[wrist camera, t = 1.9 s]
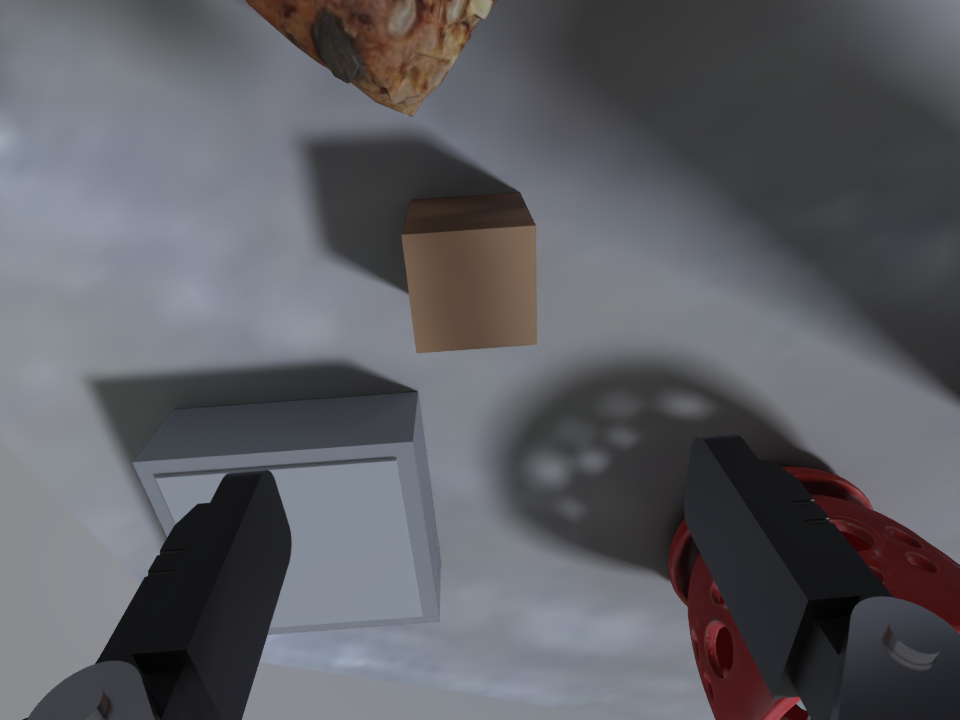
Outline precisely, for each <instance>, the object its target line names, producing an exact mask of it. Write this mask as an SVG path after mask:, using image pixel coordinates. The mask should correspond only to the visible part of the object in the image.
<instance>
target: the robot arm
mask: <svg viewBox="0 0 960 720" xmlns="http://www.w3.org/2000/svg"><path fill="white" fill-rule="evenodd" d="M683 507H684V515H685V520H686V523H687V526H688V529H689V531H690V534H691V536H692V538H693V540H694V542H695V544H696V546H697V548H698V550H699V552H700V554H701V556H702V558H703V560H704V562H705V564H706V566H707V568H708V570H709V572H710V574H711V576H712V578H713V580H714V582H715V584H716V586H717V588H718V590H719V592H720V594H721V596H722V598H723V600H724V602H725V604H726V606H727V607H728V609H729V611H730V613H731V615H732V617H733V619H734V621H735V623H736V625H737V627H738V629H739V631H740V633H741V635H742V637H743V639H744V641H745V643H746V645H747V647H748V649H749V651H750V653H751V655H752V657H753V659H754V661H755V663H756V665H757V667H758V669H759V671H760V673H761V675H762V677H763V679H764V681H765V683H766V685H767V687H768V689H769V691H770V693H771V695H772V697H773V699H780V698H791V697H800V699H801V700H802V702H803V704H804V706H805V708H806V710H807V712H808V713H809V715H808V718H807V720H960V634H959V633H958V632H957V631H956V630H955V629H954V628H953V627H952V626H951V625H950V624H948V623H947V622H946V621H945V620H943V619H942V618H940V617H939V616H937V615H936V614H934V613H933V612H931V611H929V610H927V609H925V608H923V607H921V606H919V605H916V604H914V603H912V602H909V601H905V600H902V599H898V598H894V596H893V595H892V594H891V593H890V592H889V591H888V589H887V588H886V587H885V586H884V585H883V583H882V582H881V581H880V580H879V578H878V577H877V576H876V575H875V573H874V572H873V571H872V570H871V568H870V567H869V566H868V565H867V564H866V562H865V561H864V560H863V559H862V557H861V556H860V555H859V554H858V552H857V551H856V550H855V549H854V548H853V546H852V545H851V544H850V543H849V541H848V540H847V539H846V538H845V536H844V535H843V534H842V533H841V532H840V530H839V529H838V528H837V527H836V525H835V524H834V523H830V520H829V517H828V516H827V514H826V513H825V512H824V511H823V509H822V508H821V507H820V506H819V504H815V501H814V498H813V497H812V496H811V495H810V493H809V492H808V491H807V490H806V488H805V487H804V486H803V485H802V484H801V482H800V481H799V480H798V479H797V477H795V476H794V475H792V474H791V473H789V472H788V471H786V470H785V469H783V468H782V467H780V466H779V465H777V464H776V463H774V462H773V461H772V460H761V461H759V460H758V458H757V457H756V456H755V454H754V453H753V452H752V450H751V449H750V448H749V446H748V445H747V444H746V442H745V441H744V440H743V439H742V438H741V437H740V436H738V435H728V436H715V437H702V438H696V439H695V440H694V442H693V445H692V449H691V455H690V461H689V467H688V474H687V480H686V486H685V492H684V499H683ZM291 549H292V538H291V530H290V526H289V523H288V520H287V516H286V513H285V510H284V507H283V504H282V500H281V497H280V494H279V491H278V487H277V484H276V481H275V478H274V476H273V474H272V473H271V472H270V471H269V470H264V471H251V472H238V473H228V474H226V475H225V476H224V477H223V479H222V480H221V482H220V484H219V486H218V488H217V490H216V492H215V494H214V496H213V498H212V500H211V502H210V503H199V504H197V505H196V506H194V507H193V508H192V509H191V510H190V511H189V512H188V513H187V514H186V515H185V516H184V517H183V518H182V519H181V520H180V521H179V522H178V523H176V524H175V525H174V527H173V528H172V530H171V532H170V534H169V536H168V537H167V539H166V541H165V543H164V544H163V546H162V548H161V550H160V555H158V556H157V557H156V558H155V560H154V562H153V564H152V565H151V567H150V569H149V571H148V577H145V578H144V580H143V581H142V583H141V585H140V587H139V588H138V590H137V592H136V594H135V595H134V597H133V599H132V601H131V602H130V604H129V606H128V608H127V609H126V611H125V613H124V615H123V616H122V618H121V620H120V622H119V624H118V625H117V627H116V629H115V631H114V632H113V634H112V636H111V638H110V639H109V641H108V643H107V645H106V647H105V648H104V650H103V652H102V653H101V655H100V657H99V659H98V660H97V662H96V663H95V664H94V665H91V666H89V667H86V668H84V669H82V670H80V671H78V672H76V673H74V674H73V675H71V676H70V677H68V678H66V679H65V680H63V681H62V682H61V683H59V684H58V685H57V686H56V687H54V688H53V689H52V690H51V691H50V692H49V693H48V694H47V695H46V696H45V697H44V698H43V699H42V700H41V701H40V702H39V703H38V705H37V706H36V707H35V708H34V710H33V711H32V712H31V714H30V715H29V717H28V718H25V719H23V720H242V717H243V713H244V710H245V707H246V704H247V700H248V697H249V693H250V691H251V687H252V684H253V681H254V677H255V674H256V671H257V667H258V664H259V661H260V658H261V654H262V651H263V648H264V644H265V641H266V638H267V635H268V631H269V628H270V625H271V621H272V618H273V615H274V612H275V608H276V605H277V602H278V598H279V595H280V592H281V589H282V585H283V582H284V579H285V575H286V572H287V569H288V566H289V562H290V557H291Z"/></svg>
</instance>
